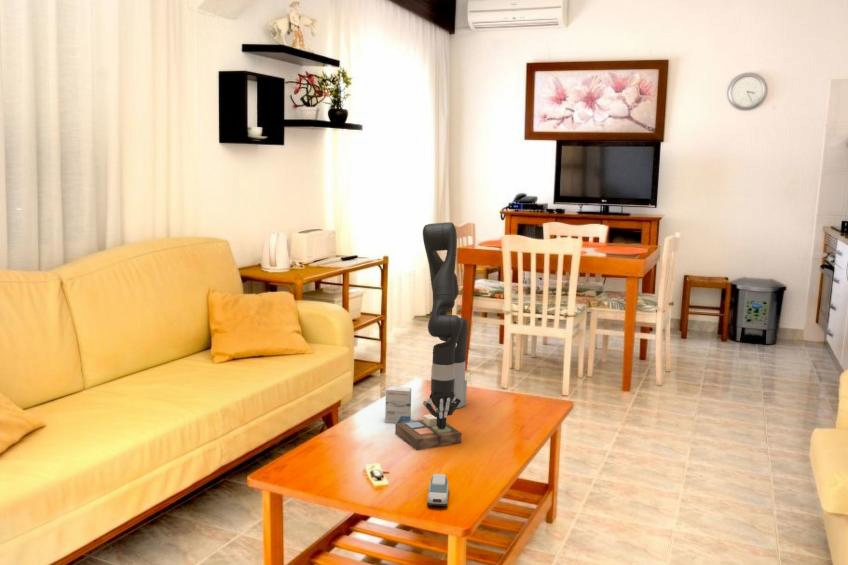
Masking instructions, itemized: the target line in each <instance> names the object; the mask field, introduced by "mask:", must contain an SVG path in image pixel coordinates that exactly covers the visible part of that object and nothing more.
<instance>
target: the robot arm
mask: <svg viewBox="0 0 848 565" xmlns="http://www.w3.org/2000/svg"><path fill="white" fill-rule="evenodd" d="M422 239H423V245H424V249H425V254H426V258H427V262H428V267H429V276H430V283H431V290H432V308H431V313H430V317H429V320H428V324H427V331H428V333H429V335H430V336H431V337H434V338H439V340H440V341H442V342H440V343H436V344H434V345H433V347H432V362H431V363H432V364H431V374H430V391H431V392H430V395H429V399H427V400H425V401H423V405H424V407H425V408H426V409H427V411H428V412H429V414H431V415H433V416H434V417H437V424H436V425H437V427H438V428H439V429H445V427H446V423H447V417H448V416H452V415H453V413H454V412H455V411H456V410H457V409H459V408H463V407H466V406H467V391H468V390H467V389H468V381H467V380H466V359H467V357H466V356H467V344H468V343H467V342H468V333H469V332H468V331H469V324H468V320H467V319H466V318H464V317H460V316H458V315H456V314H455V315H454V314H447V313H448V311H450V310H452V309H453V308H454V307H455V306H456V305H455V303H456V302H455V301H456V299H458V295H459V283H458V282H459V281H458V277H457V274H456V273H455V272H456V264H457V261H456V260H457V246H458V235H457V229H456V225H455V224H454V223H453V222H449V221H448V222H437V223H436V222H435V223H428V224H425V225H424V226H423V228H422ZM438 251H440V252H441V251H446V255H445V259H444V260H443V259H442V258H441V256H440V255H439V253H438ZM433 405H434V407H433Z"/></svg>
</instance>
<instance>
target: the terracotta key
mask: <svg viewBox="0 0 848 565" xmlns="http://www.w3.org/2000/svg"><path fill="white" fill-rule="evenodd" d="M414 432H415V433H416V434H418V435H419V436H425V435H432V434H433V432H432V431H431V430H429V429H428V428H421V429H414Z"/></svg>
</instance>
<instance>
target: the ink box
mask: <svg viewBox="0 0 848 565" xmlns="http://www.w3.org/2000/svg"><path fill="white" fill-rule="evenodd" d="M384 409H385V410H384V412H385V413H384V414H385V416H384V417H385V418H384V422H385V423H386V424H396V423H403V422H410V421H412V420H411V418H412V416H411V414H412V387H402V386H387V388H386V389H385V407H384Z"/></svg>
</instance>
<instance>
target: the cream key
mask: <svg viewBox="0 0 848 565" xmlns="http://www.w3.org/2000/svg"><path fill="white" fill-rule="evenodd" d="M422 420H423V423H424V424H426V425H427V426H429V427H432V426H437V425H436V424H437V417H434V416H433V415H431V413H429V414H424V415H422Z"/></svg>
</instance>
